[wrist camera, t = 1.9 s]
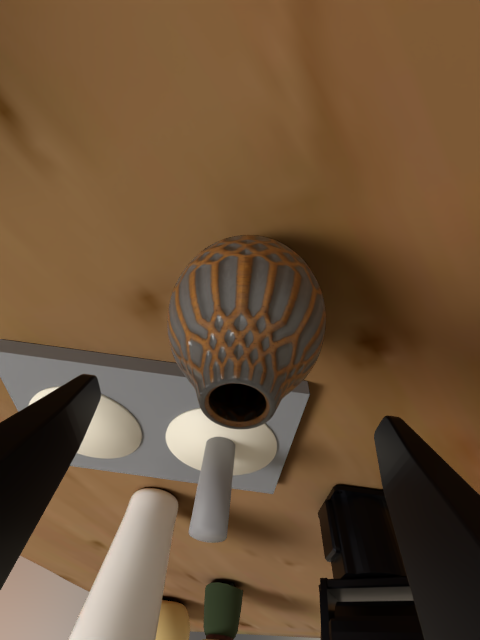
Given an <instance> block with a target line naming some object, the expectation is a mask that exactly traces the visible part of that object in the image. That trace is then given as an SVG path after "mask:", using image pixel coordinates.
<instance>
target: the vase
mask: <svg viewBox="0 0 480 640" xmlns="http://www.w3.org/2000/svg"><path fill="white" fill-rule="evenodd" d="M325 325H326V312H325V304H324V299H323V296H322V292H321V289H320V287H319V284H318V282H317V280H316V278H315V276H314V274H313V273H312V271H311V269H310V268H309V266H308V265H307V264H306V262H305V261H304V260H303V259H302V258H301V257H300V256H299V255H298V254H297V253H295V252H294V251H293V250H292V249H290V248H289V247H287V246H286V245H284V244H282V243H280V242H278V241H276V240H273V239H270V238H267V237H262V236H255V235H241V236H234V237H229V238H226V239H223V240H221V241H218V242H216V243H214V244H212V245H210V246H209V247H207V248H205V249H204V250H203V251H201V252H200V253H199V254H198V255H197V256H196V257H195V258H194V259H193V260H192V261H191V262H190V263H189V264H188V266H187V267H186V268H185V270H184V271H183V273H182V274H181V276H180V277H179V279H178V281H177V283H176V285H175V287H174V290H173V293H172V296H171V300H170V304H169V311H168V336H169V342H170V346H171V350H172V353H173V356H174V358H175V360H176V362H177V364H178V366H179V368H180V369H181V371H182V372H183V374H184V375H185V376H186V378H187V379H188V381H189V382H190V383H191V385H192V386H193V387H194V389H195V391H196V395H197V399H198V403H199V406H200V408H201V410H202V412H203V413H204V415H205V416H206V417H207V418H208V419H210V420H211V421H213V422H214V423H216V424H218V425H220V426H223V427H226V428H231V429H251V428H255V427H258V426H261V425H263V424H265V423H266V422H268V421H269V420H270V419H271V418H272V416H273V415H274V413H275V412H276V410H277V408H278V406H279V404H280V402H281V400H282V399H283V398H284V397H285V396H286V395H288V394H289V393H290V392H291V391H292V390H293V389H294V388H296V387H297V386H298V385H299V384H300V383H301V382H302V381H303V380H304V379H305V378H306V376H307V375H308V374H309V372H310V371H311V370H312V368H313V366H314V364H315V363H316V361H317V358H318V356H319V354H320V351H321V347H322V344H323V339H324V334H325Z"/></svg>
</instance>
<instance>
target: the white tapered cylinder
mask: <svg viewBox="0 0 480 640" xmlns="http://www.w3.org/2000/svg"><path fill="white" fill-rule="evenodd" d="M178 507H179V505H178V501H177V499H176V498H175V497H174V496H173V495H172V494H170V493H169V492H167V491H164V490H161V489H156V488H144V489H140V490H138V491H136V492H135V493H134V494H133V495H132V497H131V499H130V502H129V505H128V507H127V510H126V512H125V515H124V517H123V519H122V522H121V524H120V526H119V528H118V531H117V533H116V535H115V537H114V540H113V542H112V544H111V546H110V548H109V551H108V553H107V555H106V557H105V559H104V562H103V564H102V566H101V568H100V570H99V573H98V575H97V577H96V579H95V581H94V583H93V586H92V588H91V590H90V592H89V594H88V597H87V599H86V601H85V603H84V605H83V607H82V610H81V612H80V614H79V616H78V618H77V621H76V623H75V625H74V627H73V630H72V632H71V634H70V637H69V639H68V640H155V639H156V633H157V628H158V622H159V615H160V609H161V603H162V597H163V591H164V585H165V579H166V572H167V566H168V560H169V554H170V548H171V543H172V537H173V531H174V525H175V521H176V517H177V512H178Z"/></svg>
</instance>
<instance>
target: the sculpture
mask: <svg viewBox="0 0 480 640" xmlns="http://www.w3.org/2000/svg"><path fill="white" fill-rule="evenodd" d="M189 633H190V623H189V615H188V612H187V609H186V607H185V606H184V605H183V604H181V603H177V602H172V601H166V600H162V603H161V609H160V615H159V622H158V628H157V633H156V639H155V640H189Z"/></svg>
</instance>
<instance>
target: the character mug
mask: <svg viewBox="0 0 480 640" xmlns="http://www.w3.org/2000/svg"><path fill="white" fill-rule="evenodd" d="M242 596H243V590H240V589H238V588H236V587H234V584H233V583H231V584H230V585H228V584H224V583H219V582H217V583H210V584H208V585H207V586H206V588H205V602H204V632H205V635H206V639H203V640H233V639H234V638H235V636H236V634H237V631H238V625H239V618H240V612H241V605H242Z"/></svg>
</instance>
